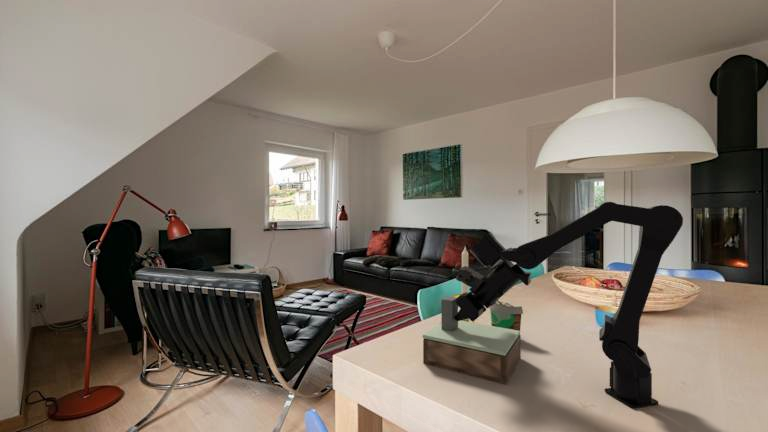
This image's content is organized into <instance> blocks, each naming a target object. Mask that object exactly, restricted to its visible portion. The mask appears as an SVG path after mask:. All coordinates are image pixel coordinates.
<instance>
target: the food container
mask: <svg viewBox="0 0 768 432" xmlns="http://www.w3.org/2000/svg"><path fill="white" fill-rule="evenodd" d="M487 309H489V310H490V321H491V326H495V327H501V328H507V329H512V330H518V331H520V332H521V326H522V323H521V321H522V315H523V314H524V312H523V311H524V310H523V306H520V305H519V306H514V305H512V304H510V303H508V302H502V301H499V300H498V301H497V302H496V303H495V304H493V305H492V306H490V307H488V308H487Z"/></svg>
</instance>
